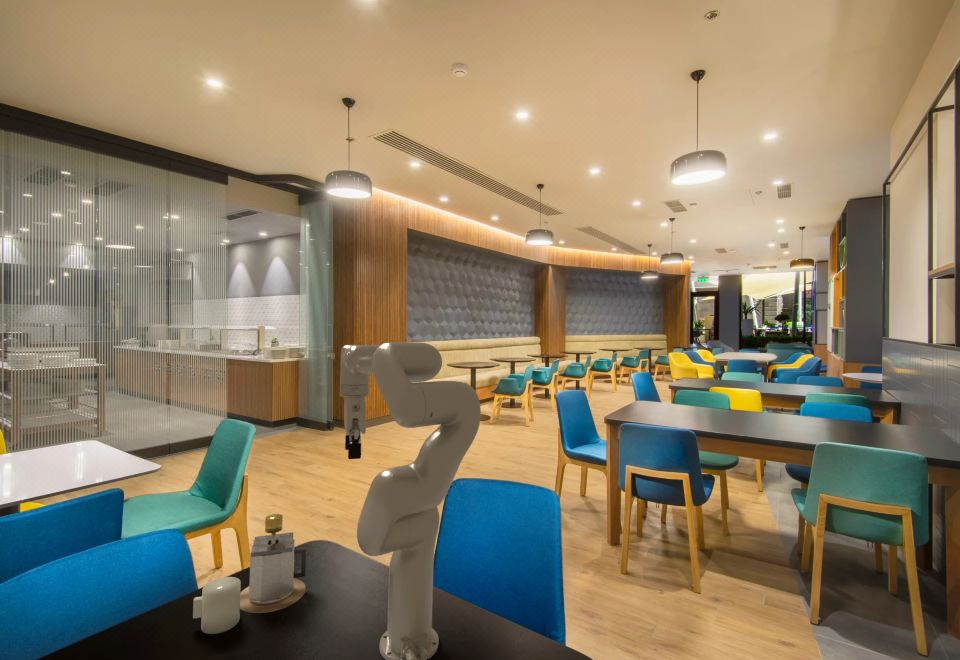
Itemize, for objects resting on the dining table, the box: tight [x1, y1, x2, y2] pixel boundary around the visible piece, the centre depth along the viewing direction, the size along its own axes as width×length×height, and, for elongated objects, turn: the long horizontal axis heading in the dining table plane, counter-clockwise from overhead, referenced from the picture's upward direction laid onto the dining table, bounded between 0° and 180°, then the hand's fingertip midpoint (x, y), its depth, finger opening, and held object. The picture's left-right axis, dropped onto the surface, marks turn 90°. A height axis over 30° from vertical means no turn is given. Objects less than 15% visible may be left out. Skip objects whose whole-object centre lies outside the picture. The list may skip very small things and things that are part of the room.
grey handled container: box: [248, 531, 307, 606], centre depth 117 cm, size 10×13×13 cm
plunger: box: [264, 513, 284, 544], centre depth 116 cm, size 8×8×18 cm
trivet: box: [240, 578, 307, 614], centre depth 116 cm, size 16×16×1 cm
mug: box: [192, 576, 242, 635], centre depth 104 cm, size 8×9×9 cm
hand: (352, 453), depth 124 cm, fingers open, 9 cm apart
